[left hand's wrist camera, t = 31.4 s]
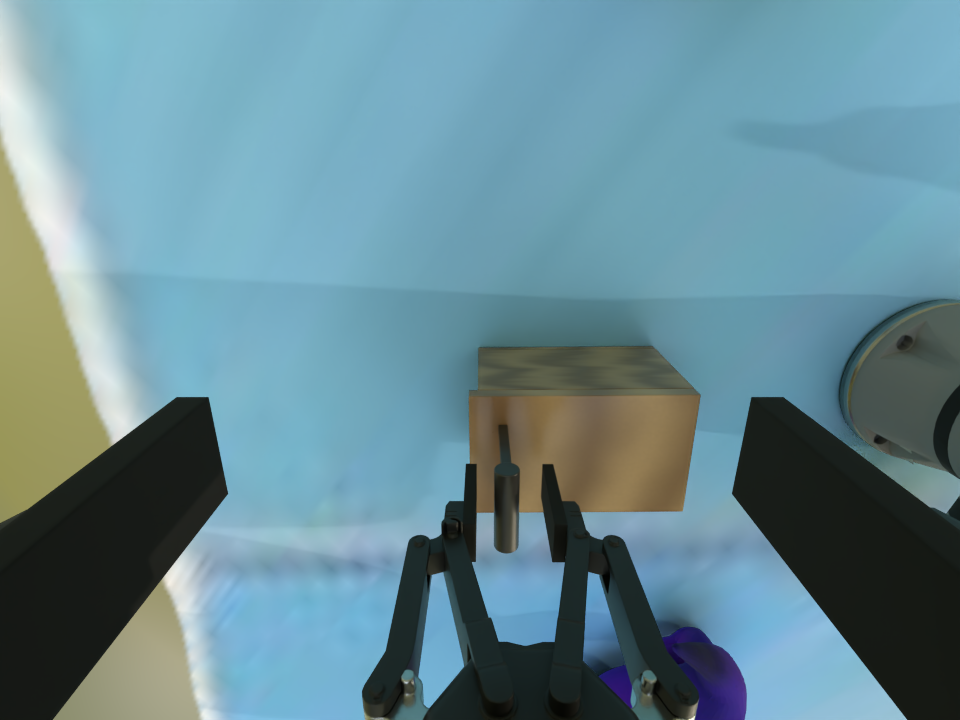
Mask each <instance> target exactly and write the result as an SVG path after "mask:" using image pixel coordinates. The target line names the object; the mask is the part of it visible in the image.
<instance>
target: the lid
mask: <svg viewBox="0 0 960 720" xmlns="http://www.w3.org/2000/svg"><path fill="white" fill-rule="evenodd" d="M700 396H701V395H700V394H699V393H698V392H697V391H696V390H695V389H586V390H470V391H469V439H470V464H477V513H494V547H495V548H496V550H498V551H499V552H501V553H512V552H514V551H515V550H516V549H517V548H518V542H519V512H543V506H542V500H541V484H542V464H553V465H554V469H555V473H556V478H557V482H558V486H559V490H560V494H561V498H562V501H575V502H576V503H577V504H578V505H579V507H580V511H581V512H659V511H683V506H684V499H685V493H686V486H687V480H688V473H689V467H690V460H691V454H692V448H693V441H694V435H695V428H696V422H697V415H698V409H699V402H700Z"/></svg>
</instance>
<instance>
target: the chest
mask: <svg viewBox="0 0 960 720" xmlns="http://www.w3.org/2000/svg"><path fill="white" fill-rule="evenodd" d="M586 389H694V388H693V387H692V386H691V385H690V384H689V382H688V381H687V380H686V379H685V378H684V377H683V376H682V375H681V374H680V373H679V372H678V371H677V370H676V369H675V368H674V367H673V366H672V365H671V364H670V363H669V362H668V361H667V360H666V359H665V358H664V357H663V356H662V355H661V354H660V353H659V352H658V351H657V350H656V349H655V348H654V347H653V346H622V347H501V348H478V390H586Z"/></svg>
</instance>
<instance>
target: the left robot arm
mask: <svg viewBox="0 0 960 720" xmlns="http://www.w3.org/2000/svg"><path fill="white" fill-rule="evenodd" d="M227 494H228V491H227V486H226V481H225V476H224V471H223V467H222V462H221V457H220V452H219V447H218V442H217V437H216V432H215V427H214V422H213V417H212V412H211V407H210V402H209V397H176V398H175V399H174V400H172V401H171V402H170V403H168V404H167V405H166V406H164V407H163V408H162V409H160V410H159V411H158V412H157V413H155V414H154V415H153V416H151V417H150V418H149V419H147V420H146V421H145V422H143V423H142V424H141V425H139V426H138V427H137V428H135V429H134V430H133V431H131V432H130V433H129V434H127V435H126V436H125V437H123V438H122V439H121V440H119V441H118V442H117V443H115V444H114V445H113V446H111V447H110V448H109V449H107V450H106V451H105V452H103V453H102V454H101V455H99V456H98V457H97V458H95V459H94V460H93V461H91V462H90V463H89V464H87V465H86V466H85V467H83V468H82V469H81V470H79V471H78V472H77V473H75V474H74V475H73V476H71V477H70V478H69V479H67V480H66V481H65V482H63V483H62V484H61V485H60V486H58V487H57V488H56V489H54V490H53V491H51V492H50V493H49V494H48V495H46V496H45V497H44V498H42V499H41V500H40V501H38V502H37V503H36V504H34V505H33V506H32V507H30V508H29V509H28V510H25V511H23V512H21V513H19V514H17V515H15V516H13V517H11V518H10V519H8V520H6V521H4V522H2V523H0V720H53V719H54V717H55V716H56V715H57V713H58V712H59V711H60V710H61V708H62V707H63V706H64V704H65V703H66V702H67V701H68V699H69V698H70V697H71V695H72V694H73V693H74V692H75V690H76V689H77V688H78V686H79V685H80V684H81V682H82V681H83V680H84V679H85V677H86V676H87V675H88V674H89V672H90V671H91V670H92V668H93V667H94V666H95V665H96V663H97V662H98V661H99V659H100V658H101V657H102V655H103V654H104V653H105V652H106V650H107V649H108V648H109V646H110V645H111V644H112V643H113V641H114V640H115V639H116V637H117V636H118V635H119V634H120V632H121V631H122V630H123V628H124V627H125V626H126V625H127V623H128V622H129V621H130V619H131V618H132V617H133V616H134V614H135V613H136V612H137V610H138V609H139V608H140V607H141V605H142V604H143V603H144V601H145V600H146V599H147V598H148V596H149V595H150V594H151V592H152V591H153V590H154V589H155V587H156V586H157V585H158V583H159V582H160V581H161V579H162V578H163V577H164V576H165V574H166V573H167V572H168V570H169V569H170V568H171V567H172V565H173V564H174V563H175V561H176V560H177V559H178V558H179V556H180V555H181V554H182V552H183V551H184V550H185V549H186V547H187V546H188V545H189V543H190V542H191V541H192V540H193V538H194V537H195V536H196V534H197V533H198V532H199V531H200V529H201V528H202V527H203V525H204V524H205V523H206V522H207V520H208V519H209V518H210V516H211V515H212V514H213V512H214V511H215V510H216V509H217V507H218V506H219V505H220V503H221V502H222V501H223V500H224V498H225V497H226V496H227ZM732 494H733V496H734V497H735V498H736V500H737V501H738V502H739V503H740V505H741V506H742V507H743V509H744V510H745V511H746V512H747V514H748V515H749V516H750V518H751V519H752V520H753V522H754V523H755V524H756V525H757V527H758V528H759V529H760V531H761V532H762V533H763V534H764V536H765V537H766V538H767V540H768V541H769V542H770V543H771V545H772V546H773V547H774V549H775V550H776V551H777V552H778V554H779V555H780V556H781V558H782V559H783V560H784V561H785V563H786V564H787V565H788V567H789V568H790V569H791V570H792V572H793V573H794V574H795V576H796V577H797V578H798V579H799V581H800V582H801V583H802V585H803V586H804V587H805V589H806V590H807V591H808V592H809V594H810V595H811V596H812V598H813V599H814V600H815V601H816V603H817V604H818V605H819V607H820V608H821V609H822V610H823V612H824V613H825V614H826V616H827V617H828V618H829V619H830V621H831V622H832V623H833V625H834V626H835V627H836V628H837V630H838V631H839V632H840V634H841V635H842V636H843V637H844V639H845V640H846V641H847V643H848V644H849V645H850V646H851V648H852V649H853V650H854V652H855V653H856V654H857V656H858V657H859V658H860V659H861V661H862V662H863V663H864V665H865V666H866V667H867V668H868V670H869V671H870V672H871V674H872V675H873V676H874V677H875V679H876V680H877V681H878V683H879V684H880V685H881V686H882V688H883V689H884V690H885V692H886V693H887V694H888V695H889V697H890V698H891V699H892V701H893V702H894V703H895V704H896V706H897V707H898V708H899V710H900V711H901V712H902V713H903V715H904V716H905V717H906V719H907V720H960V521H959V520H957V519H955V518H953V517H951V516H949V515H947V514H945V513H943V512H941V511H939V510H937V509H935V508H930V507H928V506H927V505H926V504H924V503H923V502H922V501H920V500H919V499H918V498H916V497H915V496H914V495H912V494H911V493H910V492H908V491H907V490H906V489H905V488H903V487H902V486H901V485H899V484H898V483H897V482H895V481H894V480H893V479H891V478H890V477H889V476H887V475H886V474H885V473H883V472H882V471H881V470H879V469H878V468H877V467H875V466H874V465H873V464H871V463H870V462H869V461H867V460H866V459H865V458H863V457H862V456H861V455H859V454H858V453H857V452H855V451H854V450H853V449H851V448H850V447H849V446H847V445H846V444H845V443H843V442H842V441H841V440H839V439H838V438H837V437H835V436H834V435H833V434H831V433H830V432H829V431H827V430H826V429H825V428H823V427H822V426H821V425H819V424H818V423H817V422H815V421H814V420H813V419H811V418H810V417H809V416H807V415H806V414H805V413H803V412H802V411H801V410H800V409H798V408H797V407H796V406H794V405H793V404H792V403H790V402H789V401H788V400H786V399H785V398H784V397H751V402H750V407H749V412H748V417H747V422H746V427H745V432H744V437H743V442H742V447H741V452H740V457H739V462H738V466H737V471H736V476H735V481H734V486H733V491H732Z"/></svg>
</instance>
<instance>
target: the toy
mask: <svg viewBox="0 0 960 720" xmlns="http://www.w3.org/2000/svg"><path fill="white" fill-rule="evenodd" d="M662 639H663V642H664V644H665V647H666V649H667V652H668V653H669V654H670V655H671V657H672V658H673V659H674V660H675V662H676V663H677V664H678V665H679V667H680V668H681V669H682V670H683V672H684V673H685V674H686V675H687V677H688V678H689V679H690V680H691V682H692V683H693V684H694V685H695V687H696V688H697V690H698V692H699V701H698V706H697V711H696V716H695V720H744V719H745V714H746V699H747V694H746V686H745V683H744V678H743V676H742V674H741V672H740V670H739V668H738V666H737V664H736V663H735V661H734V660H733V658H732V657H731V656H730V654H729V653H727V652H726V651H725V650H724V649H723V648H721V647H719V646H716V645H713V644H712V642H711V641H710V639H709V638H708V637H707V636H706V635H705V634H704V633H703V632H702V631H701V630H700V629H698V628H694V627H683V628H681V629H679V630H677V631H676V632H675V633H673V634H672V635H670V636H668V637H662ZM599 677H600V678H601V679H602V680H603V681H604V682H605V683H606V684H607V685H608V686H609V687H610V688H611V689H612V690H613V691H614V692H615V693H616V694H617V695H618V696H619V697H620V698H621V699H622V700H623V701H624V702H625V703H626V704H627V705H628V706H629V707H630V708H632V705H631V693H632V684H631V682H630V678H629V675H628V672H627V668H626V665H623V666H619V667H616V668H613V669H611V670H609V671H606V672H604V673H603V674H601V675H600V676H599Z"/></svg>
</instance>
